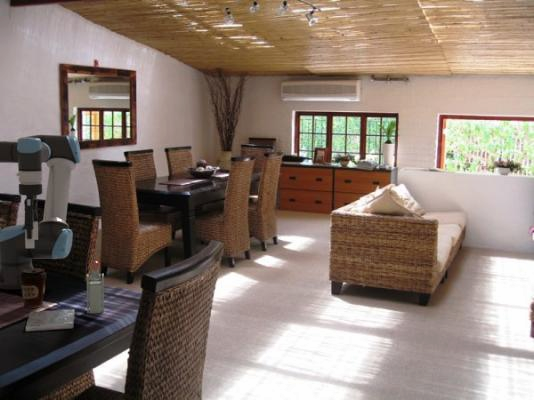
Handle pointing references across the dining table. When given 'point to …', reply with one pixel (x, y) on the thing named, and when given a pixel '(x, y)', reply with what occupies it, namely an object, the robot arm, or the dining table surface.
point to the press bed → (50, 320)
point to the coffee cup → (33, 287)
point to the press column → (95, 296)
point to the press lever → (95, 271)
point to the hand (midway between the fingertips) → (32, 243)
